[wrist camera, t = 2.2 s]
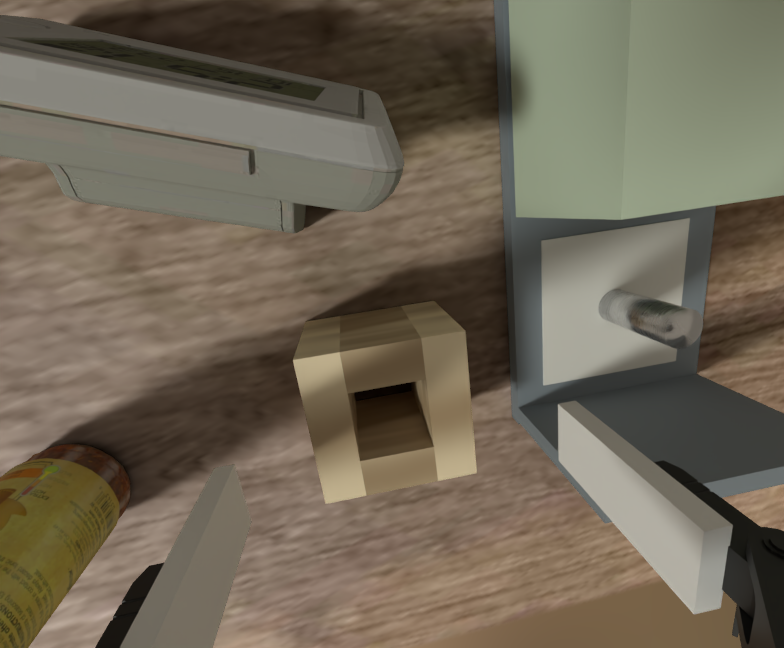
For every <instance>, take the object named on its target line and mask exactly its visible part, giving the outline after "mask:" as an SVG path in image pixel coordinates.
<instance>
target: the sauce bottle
mask: <svg viewBox="0 0 784 648" xmlns="http://www.w3.org/2000/svg"><path fill="white" fill-rule="evenodd" d="M130 495H131V493H130V480H129V478H128V474H127V473H126V471H125V470H124V467H123V466H122V465H121V464H120V463H119V462H117V461H116V460H115V459H114V457H112V456H110V455H108V454H106V453H104V452H103V451H101V450H98V449H96V448H94V447H91V446H87V445H78V444H65V445H60V446H55V447H51V448H49V449H46V450H44V451H42V452H40V453H38V454H35V455H33V456H32V457H31V458H30V459H29V460H27V461H26V462H24V463H22V464H19V465H17V466H15V467H14V468H12V469H11V470H9V471H8V472H7V473H5V474H4V475H3V476H2V477H0V648H28V647H29V646H30V644H31V643H32V642H33V640H34V639H35V637H36V636H37V635H38V633H39V632H40V630H41V629H42V628H43V626H44V625H45V624H46V622H47V621H48V619H49V618H50V617H51V615H52V614H53V613H54V611H55V610H56V608H57V607H58V606H59V604H60V603H61V601H62V600H63V599H64V597H65V596H66V594H67V593H68V592H69V590H70V589H71V588H72V586H73V585H74V584H75V582H76V581H77V579H78V578H79V577H80V575H81V574H82V573H83V571H84V570H85V568H86V567H87V566H88V564H89V563H90V561H91V560H92V559H93V557H94V556H95V554H96V553H97V552H98V550H99V549H100V547H101V546H102V545H103V543H104V542H105V540H106V539H107V538H108V536H109V535H110V533H111V532H112V530H113V529H114V527H115V526H116V524H117V521H118V519H119V518H120V517H121V516H122V514H123V513H124V511H125V509H126V507H127V505H128V503H129V500H130Z"/></svg>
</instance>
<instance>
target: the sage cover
mask: <svg viewBox="0 0 784 648" xmlns="http://www.w3.org/2000/svg"><path fill="white" fill-rule="evenodd" d="M508 2H509V31H510V60H511V89H512V118H513V147H514V177H515V206H516V217H527V218H568V219H608V220H623V219H630V218H637V217H643V216H650V215H656V214H663V213H670V212H676V211H683V210H690V209H696V208H703V207H709V206H716V205H723V204H729V203H736V202H743V201H749V200H756V199H762V198H769V197H776V196H782V195H784V0H508Z"/></svg>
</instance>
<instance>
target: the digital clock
mask: <svg viewBox="0 0 784 648" xmlns="http://www.w3.org/2000/svg"><path fill="white" fill-rule="evenodd" d="M0 156H4V157H10V158H16V159H22V160H29V161H35V162H41V163H45V164H46V165H47V166H48V167H49V168H50V169H51V171H52V172H53V173H54V175H55V177H56V179H57V182H58V184H59V186H60V188H61V190H62V192H63V194H64V195H66V196H67V197H69V198H70V199H72V200H75V201H79V202H85V203H92V204H100V205H107V206H113V207H120V208H127V209H134V210H140V211H147V212H154V213H161V214H167V215H174V216H181V217H188V218H195V219H201V220H208V221H215V222H222V223H228V224H235V225H242V226H249V227H256V228H262V229H269V230H276V231H283V232H288V233H297V232H299V231H301V230H303V229H304V223H305V213H306V205H310V206H317V207H324V208H331V209H338V210H345V211H354V212H365V211H369V210H371V209H374V208H375V207H376V206H378V205H379V204H381V203H382V202H383V201H384V200H386V199H387V198H388V197H389V196H390V195H391V194H392V193H393V191H394V190H395V188H396V186H397V184H398V183H399V181H400V178H401V175H402V171H403V166H404V159H403V155H402V152H401V149H400V146H399V144H398V141H397V139H396V136H395V133H394V131H393V128H392V125H391V123H390V120H389V117H388V115H387V112H386V109H385V107H384V105H383V103H382V100H381V98H380V96H379V95H378V94H377V93H375V92H373V91H370V90H366V89H361V88H359V87H355V86H350V85H346V84H341V83H336V82H332V81H327V80H322V79H318V78H313V77H308V76H304V75H299V74H294V73H290V72H285V71H280V70H276V69H271V68H266V67H262V66H257V65H252V64H248V63H243V62H238V61H234V60H229V59H225V58H220V57H215V56H211V55H206V54H201V53H197V52H192V51H187V50H183V49H178V48H173V47H169V46H164V45H159V44H155V43H150V42H145V41H141V40H136V39H131V38H127V37H122V36H118V35H113V34H108V33H104V32H99V31H94V30H90V29H85V28H80V27H76V26H71V25H66V24H62V23H57V22H52V21H48V20H43V19H37V18H27V17H18V16H7V15H0Z"/></svg>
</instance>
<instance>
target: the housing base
mask: <svg viewBox="0 0 784 648" xmlns="http://www.w3.org/2000/svg"><path fill="white" fill-rule="evenodd" d="M494 13H495V36H496V59H497V82H498V104H499V127H500V150H501V173H502V196H503V218H504V241H505V264H506V287H507V310H508V332H509V355H510V378H511V401H512V417H513V418H514V419H515V420H516V421H517V423H518V424H521V425H522V426H523V427H524V428H525V430H526V431H527V432H528V433H529V434H530V435H531V437H532V438H533V439H534V440H535V441H536V443H537V444H538V445H539V446H540V447H541V448H542V450H543V451H544V452H545V453H546V454H547V455H548V457H549V458H550V459H551V460H552V461H553V463H554V464H555V465H556V466H557V467H558V468H559V470H560V471H561V472H562V473H563V474H564V476H565V477H566V478H567V479H568V480H569V481H570V483H571V484H572V485H573V486H574V487H575V489H576V490H577V491H578V492H579V493H580V494H581V496H582V497H583V498H584V499H585V500H586V501H587V503H588V504H589V505H590V506H591V507H592V509H593V510H594V511H595V512H596V513H597V514H598V516H599V517H600V518H601V519H602V520H603V522H604V523H609V522H612V521H611V520H610V518H609V517H608V516H607V515H606V514H605V513H604V512H603V510H602V509H601V508H600V507H599V506H598V505H597V504H596V503H595V501H594V500H593V499H592V498H591V497H590V496H589V495H588V493H587V492H586V491H585V490H584V489H583V488H582V487H581V485H580V484H579V483H578V482H577V481H576V480H575V479H574V478H573V476H572V475H571V474H570V473H569V472H568V471H567V470H566V468H565V467H564V466H563V465H562V464H561V463H560V462H559V454H558V404H560V403H565V402H571V401H577V402H578V403H579V404H580V405H582V406H583V407H584V408H586V409H587V410H588V411H589V412H591V413H592V414H593V415H594V416H596V417H597V418H598V419H599V420H601V421H602V422H603V423H604V424H606V425H607V426H608V427H610V428H611V429H612V430H613V431H615V432H616V433H617V434H618V435H620V436H621V437H622V438H623V439H625V440H626V441H627V442H628V443H630V444H631V445H632V446H634V447H635V448H636V449H637V450H639V451H640V452H641V453H642V454H644V455H645V456H646V457H647V458H649V459H650V460H651V461H652V462H657V461H662V460H664V461H666V462H668V463H671V464H673V465H675V466H677V467H679V468H681V469H683V470H684V471H686V472H687V473H688V474H690V475H691V476H693V477H694V478H695V479H697V481H698V482H701V483H702V484H703V485H705V486H706V487H707V488H709V489H710V491H711V492H714V493H715V494H717V495H718V496H719V497H721V498H722V497H727V496H731V495H736V494H740V493H745V492H749V491H754V490H758V489H763V488H768V487H772V486H777V485H781V484H784V414H783V413H781V412H779V411H777V410H775V409H772V408H770V407H768V406H766V405H764V404H761V403H759V402H757V401H755V400H753V399H750V398H748V397H746V396H744V395H742V394H739V393H737V392H735V391H733V390H731V389H728V388H726V387H724V386H722V385H720V384H717V383H715V382H713V381H711V380H709V379H706V378H704V377H702V376H700V375H698V374H696V373H697V365H698V356H699V348H700V339H701V334H700V336H699V337H698V339H697V340H696V341H695V342H694V343H693V344H691V345H690V346H688V347H686V348H682V349H675V348H672V347H670V346H667V345H665V344H662V343H660V342H658V341H655V340H653V339H650V338H648V337H645V336H643V335H640V334H638V333H635V332H633V331H631V330H628V329H626V328H623V327H621V326H618V325H616V324H613V323H611V322H608V321H606V320H604V319H603V318H602V317H601V316H600V314H599V311H598V307H599V302H600V300H601V298H602V297H603V296H604V295H605V294H606V293H607V292H609V291H611V290H614V289H621V290H624V291H628V292H631V293H635V294H639V295H642V296H646V297H650V298H653V299H657V300H661V301H664V302H668V303H671V304H675V305H679V306H682V307H686V308H690V309H693V310H696V311H698V312H699V313H700V314H701V316H702V318H703V313H704V305H705V296H706V288H707V279H708V271H709V262H710V254H711V245H712V237H713V228H714V220H715V211H716V206H709V207H703V208H696V209H690V210H683V211H676V212H670V213H663V214H656V215H650V216H643V217H637V218H630V219H623V220H608V219H568V218H527V217H516V206H515V177H514V147H513V118H512V89H511V60H510V31H509V2H508V0H494Z"/></svg>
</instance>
